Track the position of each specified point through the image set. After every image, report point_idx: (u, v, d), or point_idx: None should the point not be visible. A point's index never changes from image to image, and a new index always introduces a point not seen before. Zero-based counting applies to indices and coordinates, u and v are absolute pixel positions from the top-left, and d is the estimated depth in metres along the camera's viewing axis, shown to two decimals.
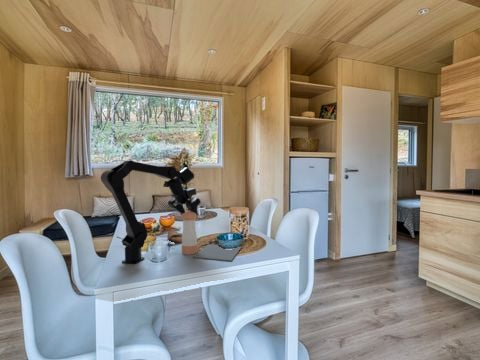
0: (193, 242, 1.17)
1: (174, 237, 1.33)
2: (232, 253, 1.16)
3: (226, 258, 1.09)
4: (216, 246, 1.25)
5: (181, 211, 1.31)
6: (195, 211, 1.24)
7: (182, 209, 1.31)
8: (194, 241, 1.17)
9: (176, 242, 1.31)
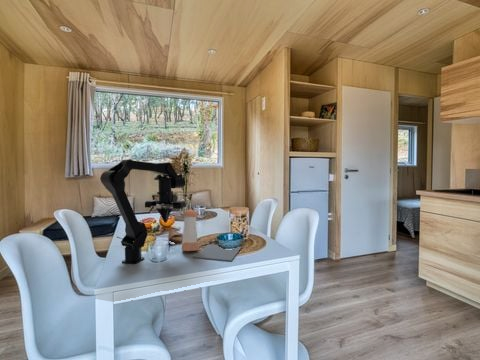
0: (193, 239, 1.18)
1: (175, 237, 1.33)
2: (232, 253, 1.16)
3: (226, 258, 1.09)
4: (216, 246, 1.25)
5: None
6: (168, 215, 1.21)
7: None
8: (194, 238, 1.18)
9: (177, 242, 1.31)
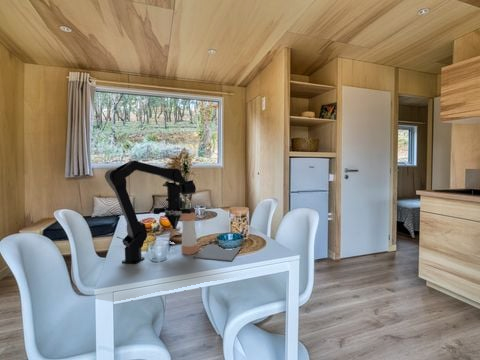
0: (193, 242, 1.16)
1: (176, 237, 1.33)
2: (232, 253, 1.16)
3: (226, 258, 1.09)
4: (216, 246, 1.25)
5: None
6: (177, 221, 1.20)
7: None
8: (194, 241, 1.17)
9: (177, 242, 1.31)
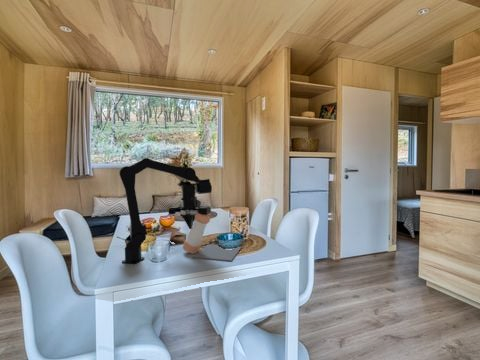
0: (197, 243, 1.16)
1: (176, 237, 1.34)
2: (232, 253, 1.16)
3: (226, 258, 1.09)
4: (216, 246, 1.25)
5: None
6: (192, 221, 1.18)
7: None
8: (198, 242, 1.16)
9: (178, 242, 1.31)
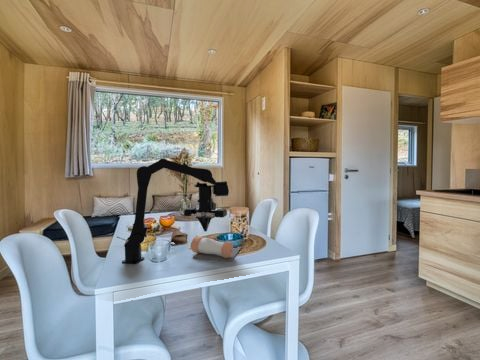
0: None
1: (177, 237, 1.34)
2: (232, 253, 1.16)
3: (226, 258, 1.09)
4: None
5: (204, 225, 1.16)
6: (208, 223, 1.16)
7: None
8: None
9: (179, 242, 1.31)
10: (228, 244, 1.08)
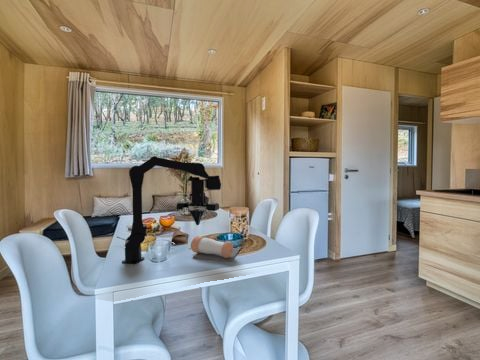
0: None
1: (178, 237, 1.34)
2: (232, 253, 1.16)
3: (226, 258, 1.09)
4: None
5: (196, 218, 1.16)
6: (200, 217, 1.17)
7: None
8: None
9: (180, 242, 1.31)
10: (228, 244, 1.08)
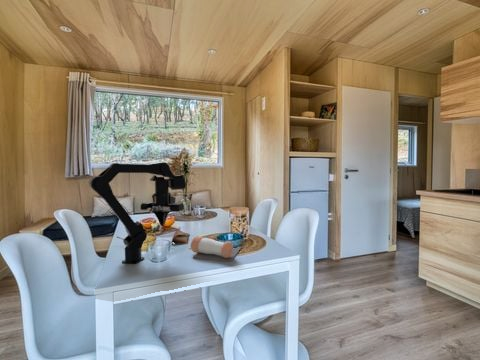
0: None
1: (179, 237, 1.34)
2: (232, 253, 1.16)
3: (226, 258, 1.09)
4: None
5: None
6: (165, 217, 1.15)
7: None
8: None
9: (180, 242, 1.31)
10: (228, 244, 1.08)
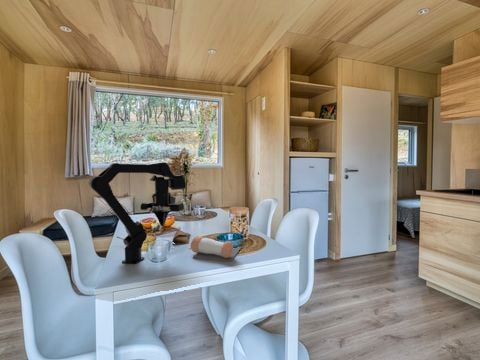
0: None
1: (179, 237, 1.34)
2: (232, 253, 1.16)
3: (226, 258, 1.09)
4: None
5: None
6: (165, 217, 1.15)
7: None
8: None
9: (181, 242, 1.31)
10: (228, 244, 1.08)
